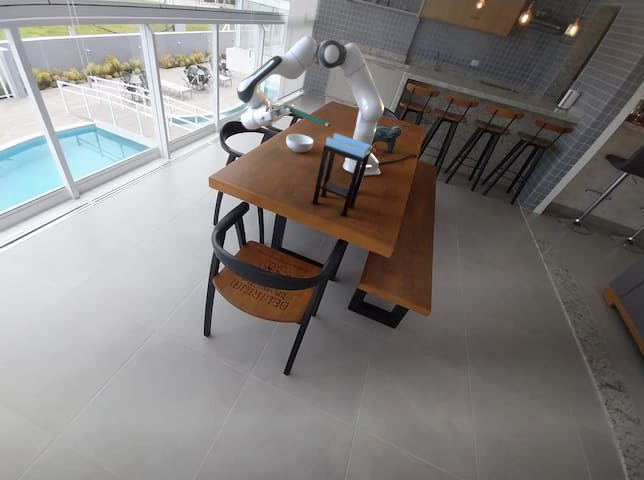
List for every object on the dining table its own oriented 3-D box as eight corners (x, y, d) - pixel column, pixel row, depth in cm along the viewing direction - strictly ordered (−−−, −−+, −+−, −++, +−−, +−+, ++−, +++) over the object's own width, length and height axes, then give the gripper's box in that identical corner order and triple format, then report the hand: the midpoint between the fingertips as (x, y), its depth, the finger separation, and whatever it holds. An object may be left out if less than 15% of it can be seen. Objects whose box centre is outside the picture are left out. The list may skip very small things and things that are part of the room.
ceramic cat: (393, 151, 210) (404, 121, 197) (394, 155, 206) (405, 124, 192) (365, 146, 210) (374, 115, 197) (365, 149, 205) (375, 118, 192)
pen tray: (325, 144, 126) (327, 137, 124) (333, 140, 131) (334, 133, 129) (363, 157, 121) (365, 150, 119) (369, 152, 126) (371, 145, 124)
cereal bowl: (309, 158, 182) (311, 146, 177) (282, 152, 182) (283, 140, 178) (313, 148, 194) (315, 136, 189) (288, 142, 195) (289, 131, 190)
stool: (312, 203, 143) (323, 145, 125) (322, 194, 150) (334, 139, 132) (345, 216, 138) (361, 159, 120) (353, 207, 146) (370, 151, 128)
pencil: (283, 109, 140) (283, 105, 139) (286, 108, 142) (286, 104, 141) (328, 127, 134) (329, 124, 134) (330, 126, 136) (331, 123, 135)
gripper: (253, 112, 139) (277, 105, 131) (278, 104, 152) (301, 97, 145) (258, 126, 142) (281, 120, 134) (281, 118, 155) (304, 112, 148)
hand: (292, 108), depth 139 cm, fingers closed on pencil, 2 cm apart
